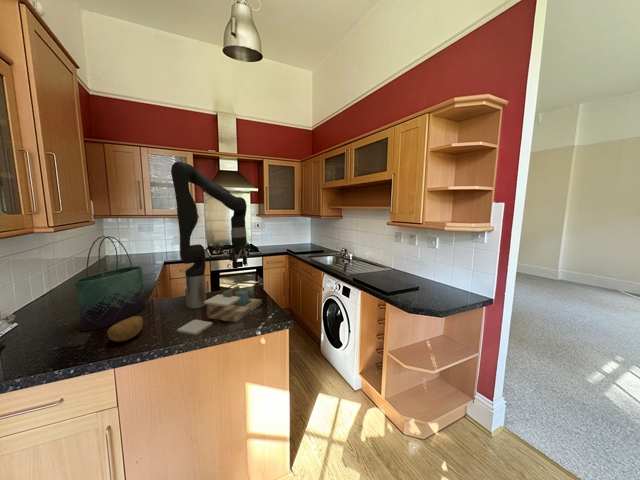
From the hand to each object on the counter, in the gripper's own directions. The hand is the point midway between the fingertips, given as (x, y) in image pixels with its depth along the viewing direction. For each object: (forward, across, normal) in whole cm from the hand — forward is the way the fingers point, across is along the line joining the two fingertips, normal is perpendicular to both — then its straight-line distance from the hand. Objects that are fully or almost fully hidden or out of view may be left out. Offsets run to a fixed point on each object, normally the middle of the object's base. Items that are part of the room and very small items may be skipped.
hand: (240, 266), depth 134 cm
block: (+22, 0, 0) cm, 22 cm away
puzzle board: (+22, +5, 0) cm, 23 cm away
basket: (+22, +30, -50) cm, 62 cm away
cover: (+13, +15, 0) cm, 20 cm away
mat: (+22, +27, -6) cm, 35 cm away
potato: (+22, +42, -26) cm, 54 cm away
